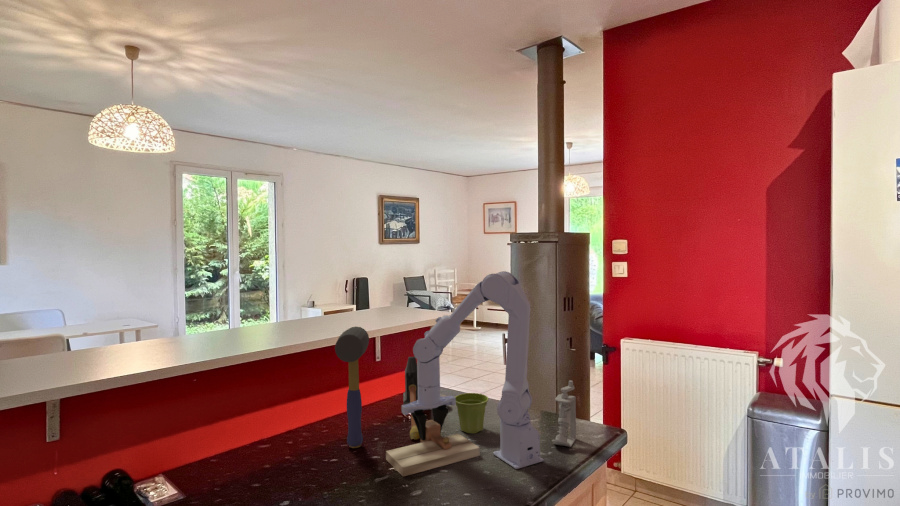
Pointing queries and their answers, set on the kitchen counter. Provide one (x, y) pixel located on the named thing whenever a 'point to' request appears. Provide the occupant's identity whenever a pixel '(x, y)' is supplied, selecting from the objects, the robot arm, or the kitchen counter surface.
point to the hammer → (411, 391)
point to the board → (430, 455)
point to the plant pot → (471, 411)
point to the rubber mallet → (353, 378)
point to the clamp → (566, 416)
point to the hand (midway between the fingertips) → (429, 437)
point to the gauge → (435, 434)
